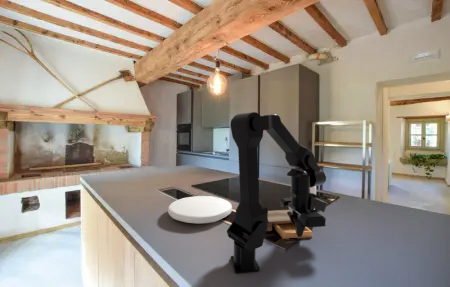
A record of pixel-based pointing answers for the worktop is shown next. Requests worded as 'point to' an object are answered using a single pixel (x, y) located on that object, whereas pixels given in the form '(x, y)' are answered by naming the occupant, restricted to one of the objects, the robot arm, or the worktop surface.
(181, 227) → the worktop surface
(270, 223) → the overhang
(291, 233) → the shallow tan tray
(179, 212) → the white thick disc
